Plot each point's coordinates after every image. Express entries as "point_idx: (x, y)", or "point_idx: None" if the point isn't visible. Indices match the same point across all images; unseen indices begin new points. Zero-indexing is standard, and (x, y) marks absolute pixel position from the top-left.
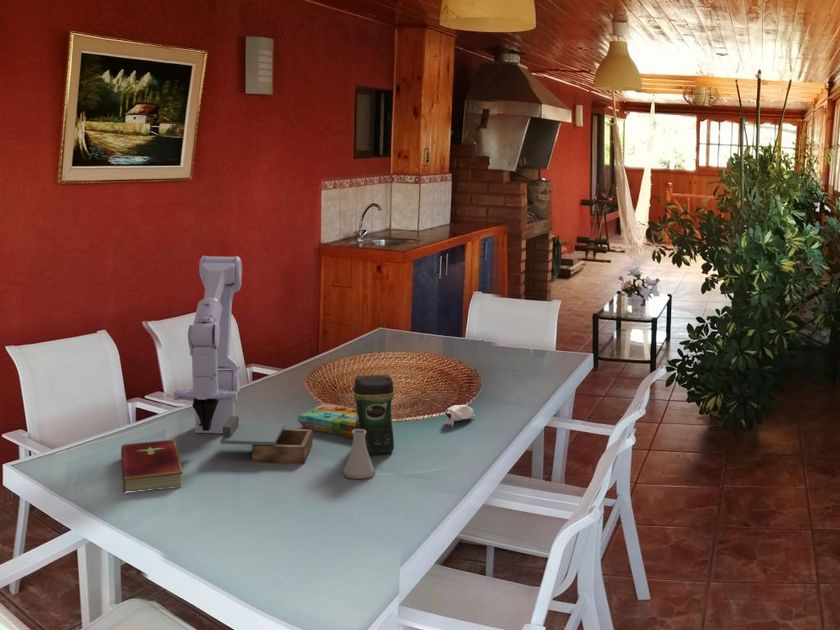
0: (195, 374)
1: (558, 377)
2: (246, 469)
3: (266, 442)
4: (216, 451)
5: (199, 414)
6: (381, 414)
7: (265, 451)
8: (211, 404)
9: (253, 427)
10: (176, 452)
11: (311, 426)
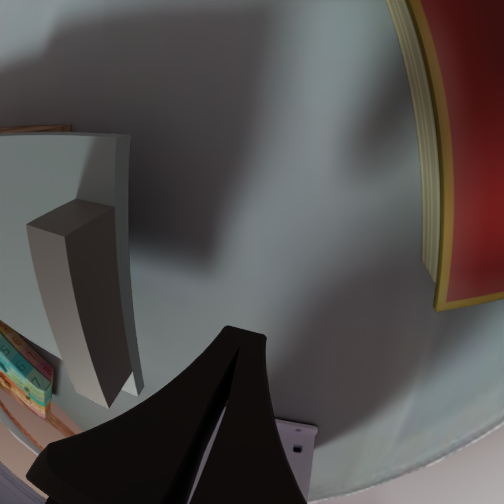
0: None
1: None
2: (84, 48)
3: None
4: (225, 264)
5: (260, 445)
6: None
7: (7, 132)
8: (37, 483)
9: (46, 321)
10: (438, 67)
11: (31, 355)
